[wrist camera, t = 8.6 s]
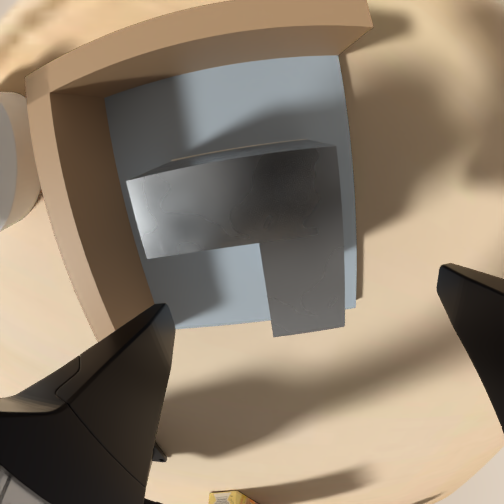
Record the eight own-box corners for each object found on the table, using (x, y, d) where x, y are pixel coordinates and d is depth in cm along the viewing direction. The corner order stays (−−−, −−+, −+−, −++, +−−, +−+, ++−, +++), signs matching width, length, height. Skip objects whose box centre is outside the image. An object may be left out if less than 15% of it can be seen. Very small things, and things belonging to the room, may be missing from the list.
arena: (352, 301, 16) (381, 361, 12) (148, 324, 17) (121, 384, 12) (330, 35, 11) (365, -4, 6) (87, 85, 12) (24, 76, 7)
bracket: (306, 139, 12) (336, 145, 8) (319, 264, 15) (344, 326, 10) (171, 161, 13) (126, 180, 8) (198, 280, 15) (176, 345, 10)
